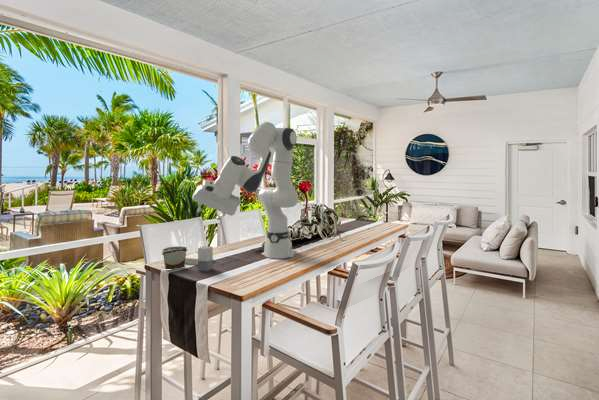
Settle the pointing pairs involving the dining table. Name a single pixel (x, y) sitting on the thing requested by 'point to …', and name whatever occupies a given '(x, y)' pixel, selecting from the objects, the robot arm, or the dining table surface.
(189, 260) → the stand
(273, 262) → the dining table surface
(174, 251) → the food container
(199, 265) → the block
